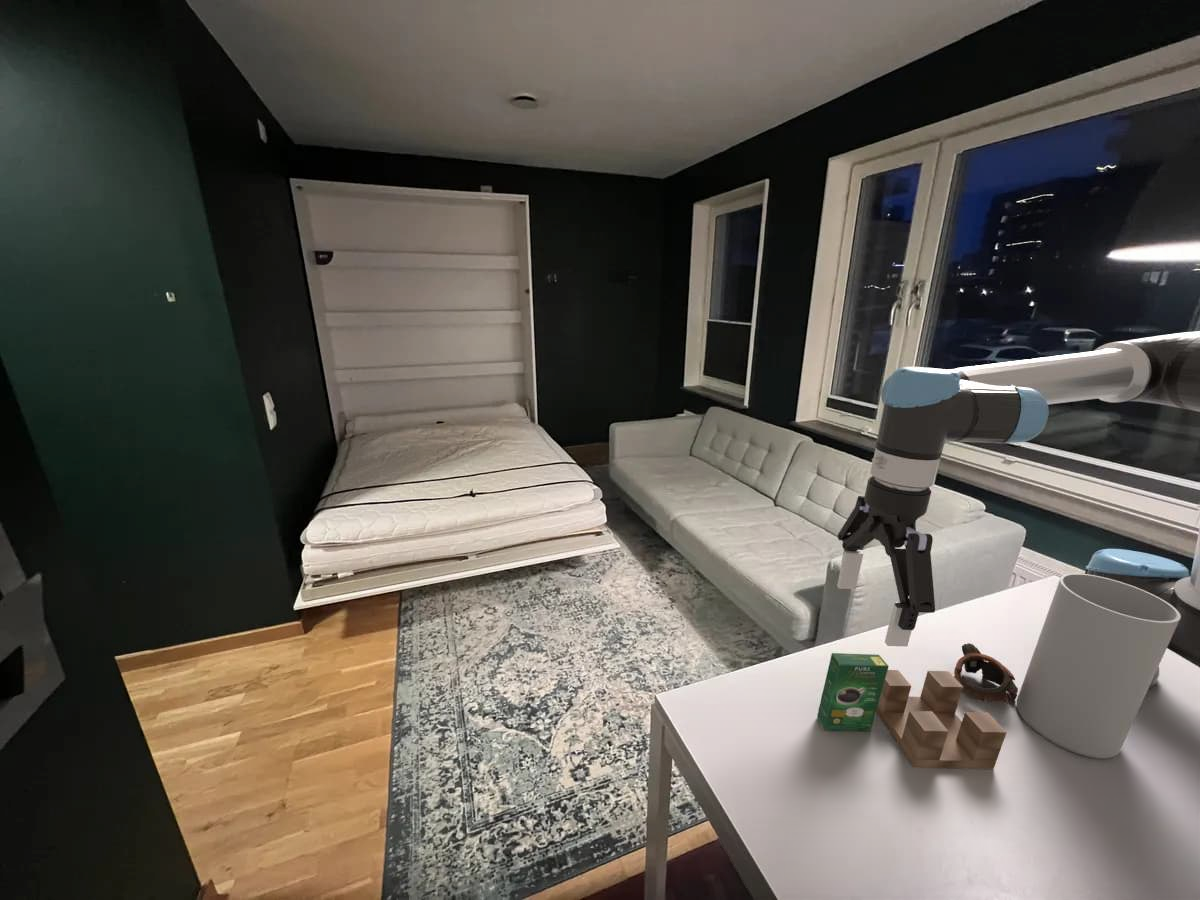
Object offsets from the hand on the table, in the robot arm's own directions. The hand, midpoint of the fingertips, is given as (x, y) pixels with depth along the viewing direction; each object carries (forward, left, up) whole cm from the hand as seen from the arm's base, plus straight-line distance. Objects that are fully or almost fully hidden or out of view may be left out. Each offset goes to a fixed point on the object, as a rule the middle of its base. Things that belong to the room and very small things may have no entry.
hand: (868, 613), depth 71 cm
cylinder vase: (-26, -26, -21) cm, 43 cm away
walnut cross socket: (-10, -8, -21) cm, 25 cm away
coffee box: (0, 0, -21) cm, 21 cm away
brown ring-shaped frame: (-14, -26, -22) cm, 37 cm away
